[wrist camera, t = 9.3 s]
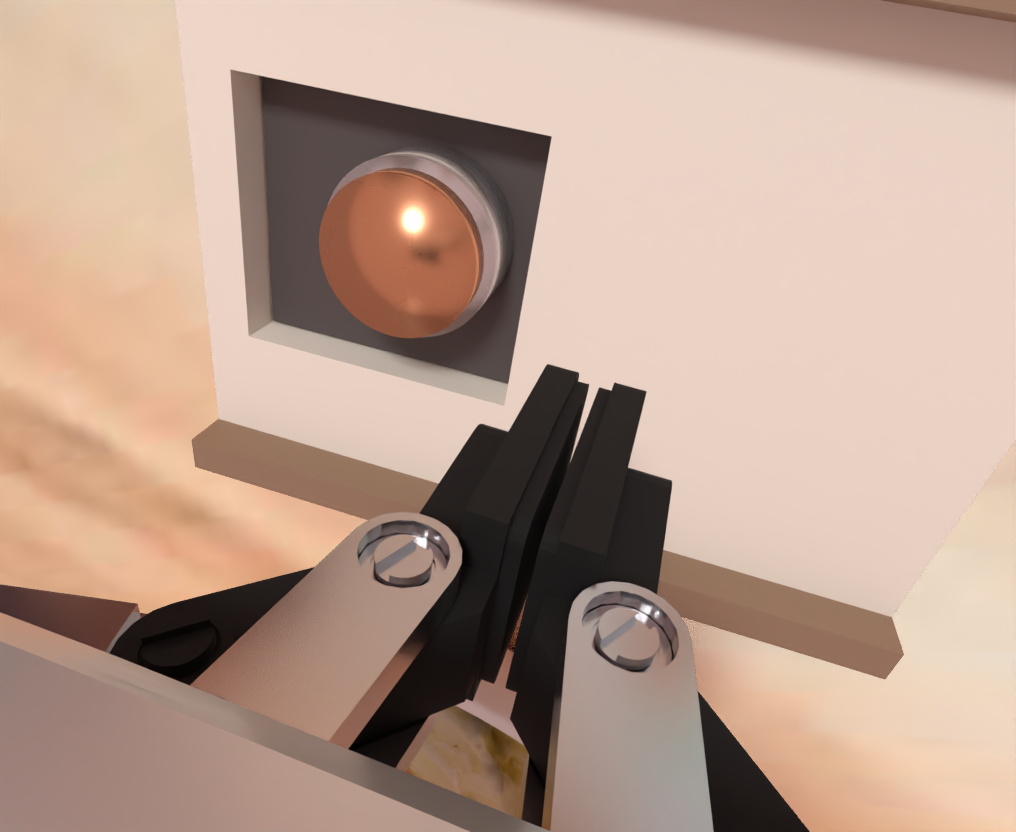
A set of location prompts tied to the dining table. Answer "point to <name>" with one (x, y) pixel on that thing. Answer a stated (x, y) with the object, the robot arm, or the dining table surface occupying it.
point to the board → (641, 269)
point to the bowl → (477, 748)
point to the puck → (416, 240)
